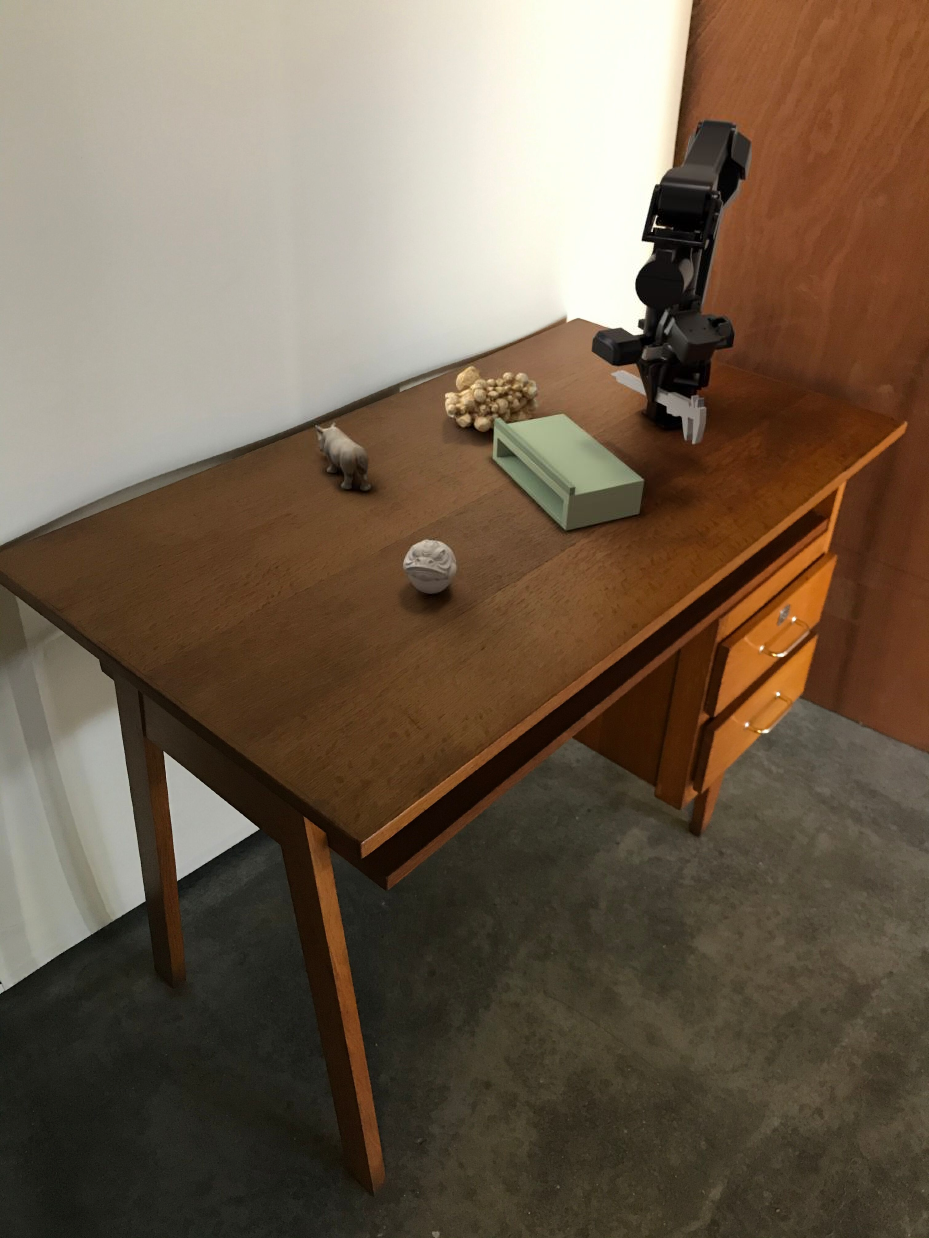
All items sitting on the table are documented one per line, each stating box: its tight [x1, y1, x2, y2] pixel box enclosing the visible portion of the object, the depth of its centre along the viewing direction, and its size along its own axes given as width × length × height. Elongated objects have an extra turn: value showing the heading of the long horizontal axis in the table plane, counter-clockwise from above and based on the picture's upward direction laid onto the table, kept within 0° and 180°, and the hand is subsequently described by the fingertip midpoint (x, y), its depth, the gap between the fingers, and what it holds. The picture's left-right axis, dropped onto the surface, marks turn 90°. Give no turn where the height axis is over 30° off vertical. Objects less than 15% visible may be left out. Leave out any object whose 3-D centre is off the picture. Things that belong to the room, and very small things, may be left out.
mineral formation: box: [444, 365, 540, 433], centre depth 148 cm, size 8×13×15 cm
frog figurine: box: [402, 539, 458, 595], centre depth 113 cm, size 6×7×7 cm
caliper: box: [611, 369, 707, 445], centre depth 133 cm, size 20×1×6 cm, turn 26°
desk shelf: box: [492, 413, 645, 531], centre depth 134 cm, size 11×21×6 cm, turn 25°
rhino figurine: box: [315, 422, 371, 492], centre depth 136 cm, size 4×14×6 cm, turn 30°
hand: (655, 401), depth 135 cm, fingers closed on caliper, 1 cm apart
